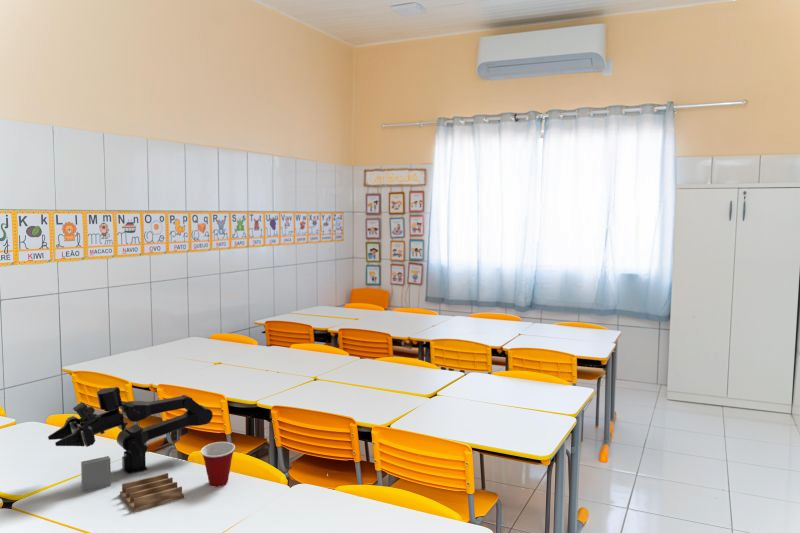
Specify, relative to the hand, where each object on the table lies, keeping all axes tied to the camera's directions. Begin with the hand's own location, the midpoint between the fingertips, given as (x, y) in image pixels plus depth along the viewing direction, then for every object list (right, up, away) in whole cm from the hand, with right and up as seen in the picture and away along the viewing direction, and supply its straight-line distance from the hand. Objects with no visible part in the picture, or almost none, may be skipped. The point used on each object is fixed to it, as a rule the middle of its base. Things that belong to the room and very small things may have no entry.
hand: (51, 441), depth 196 cm
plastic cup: (+50, -16, +8) cm, 53 cm away
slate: (+12, -16, +3) cm, 20 cm away
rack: (+32, -16, -3) cm, 36 cm away
